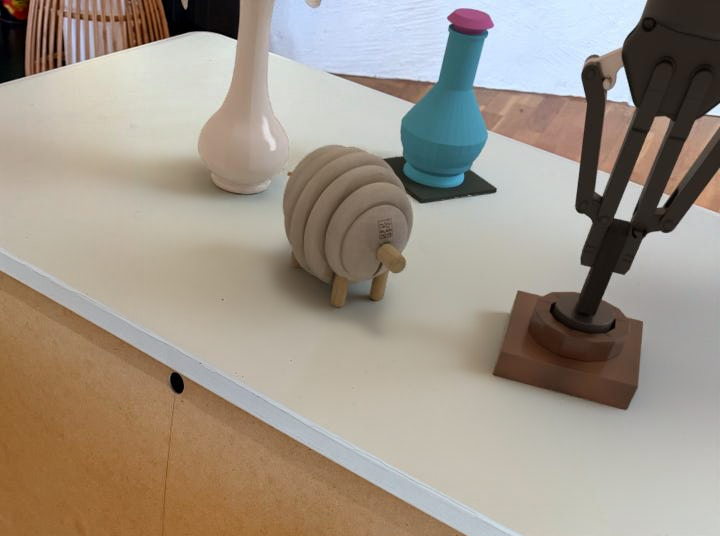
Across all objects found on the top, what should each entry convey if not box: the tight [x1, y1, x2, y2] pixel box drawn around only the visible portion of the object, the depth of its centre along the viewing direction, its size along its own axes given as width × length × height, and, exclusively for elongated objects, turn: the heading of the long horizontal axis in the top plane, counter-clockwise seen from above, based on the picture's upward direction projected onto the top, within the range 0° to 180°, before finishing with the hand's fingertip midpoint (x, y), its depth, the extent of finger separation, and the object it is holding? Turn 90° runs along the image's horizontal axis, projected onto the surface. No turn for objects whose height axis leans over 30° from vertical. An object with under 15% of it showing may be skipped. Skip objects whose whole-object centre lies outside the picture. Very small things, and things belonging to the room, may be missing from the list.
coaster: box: [382, 155, 498, 204], centre depth 100 cm, size 10×10×1 cm
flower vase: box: [181, 0, 322, 195], centre depth 85 cm, size 13×18×25 cm
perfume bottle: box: [399, 7, 495, 188], centre depth 95 cm, size 9×9×15 cm
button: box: [551, 294, 615, 334], centre depth 75 cm, size 5×5×2 cm
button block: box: [492, 289, 644, 411], centre depth 77 cm, size 11×11×4 cm
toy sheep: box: [282, 144, 414, 308], centre depth 79 cm, size 11×17×11 cm, turn 31°
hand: (586, 305), depth 74 cm, fingers closed
